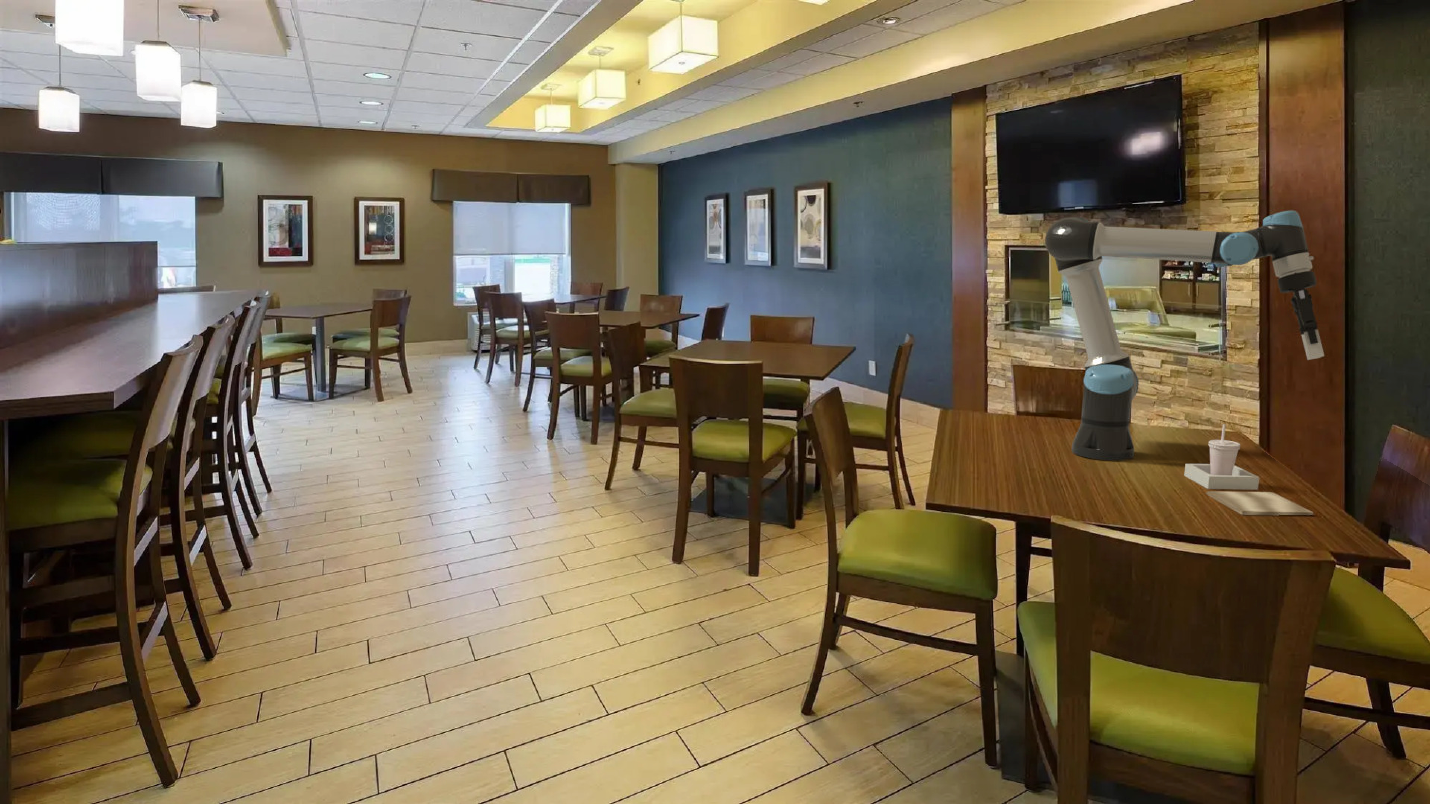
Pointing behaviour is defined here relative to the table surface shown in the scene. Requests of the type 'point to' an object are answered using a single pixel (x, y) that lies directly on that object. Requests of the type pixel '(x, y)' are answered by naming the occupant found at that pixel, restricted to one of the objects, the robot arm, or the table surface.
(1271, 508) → the board
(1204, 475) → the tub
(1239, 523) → the table surface
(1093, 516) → the table surface
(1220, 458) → the smoothie
